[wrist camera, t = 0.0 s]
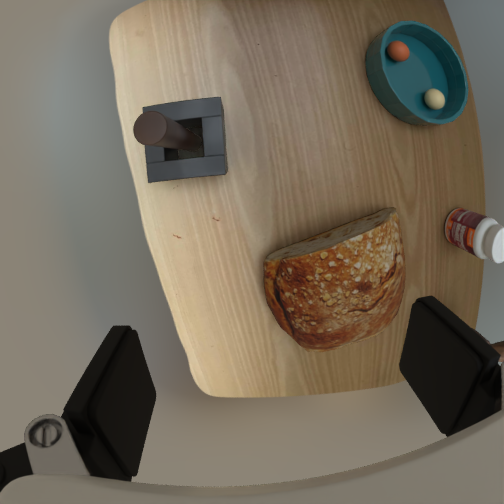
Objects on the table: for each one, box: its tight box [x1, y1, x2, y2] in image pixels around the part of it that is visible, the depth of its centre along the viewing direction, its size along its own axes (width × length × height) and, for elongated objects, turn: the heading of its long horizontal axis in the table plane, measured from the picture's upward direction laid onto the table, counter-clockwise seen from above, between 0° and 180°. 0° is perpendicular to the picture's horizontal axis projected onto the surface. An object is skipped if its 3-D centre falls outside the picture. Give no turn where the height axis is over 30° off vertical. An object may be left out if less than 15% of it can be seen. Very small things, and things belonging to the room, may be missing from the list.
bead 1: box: [387, 41, 409, 62], centre depth 30 cm, size 3×3×3 cm
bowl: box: [366, 21, 468, 126], centre depth 31 cm, size 15×15×5 cm
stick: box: [133, 111, 202, 152], centre depth 26 cm, size 2×2×20 cm
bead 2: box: [424, 89, 445, 110], centre depth 32 cm, size 3×3×3 cm
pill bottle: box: [445, 208, 504, 263], centre depth 35 cm, size 6×6×11 cm
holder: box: [143, 97, 228, 183], centre depth 31 cm, size 8×8×8 cm
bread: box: [264, 207, 405, 352], centre depth 37 cm, size 20×18×10 cm
